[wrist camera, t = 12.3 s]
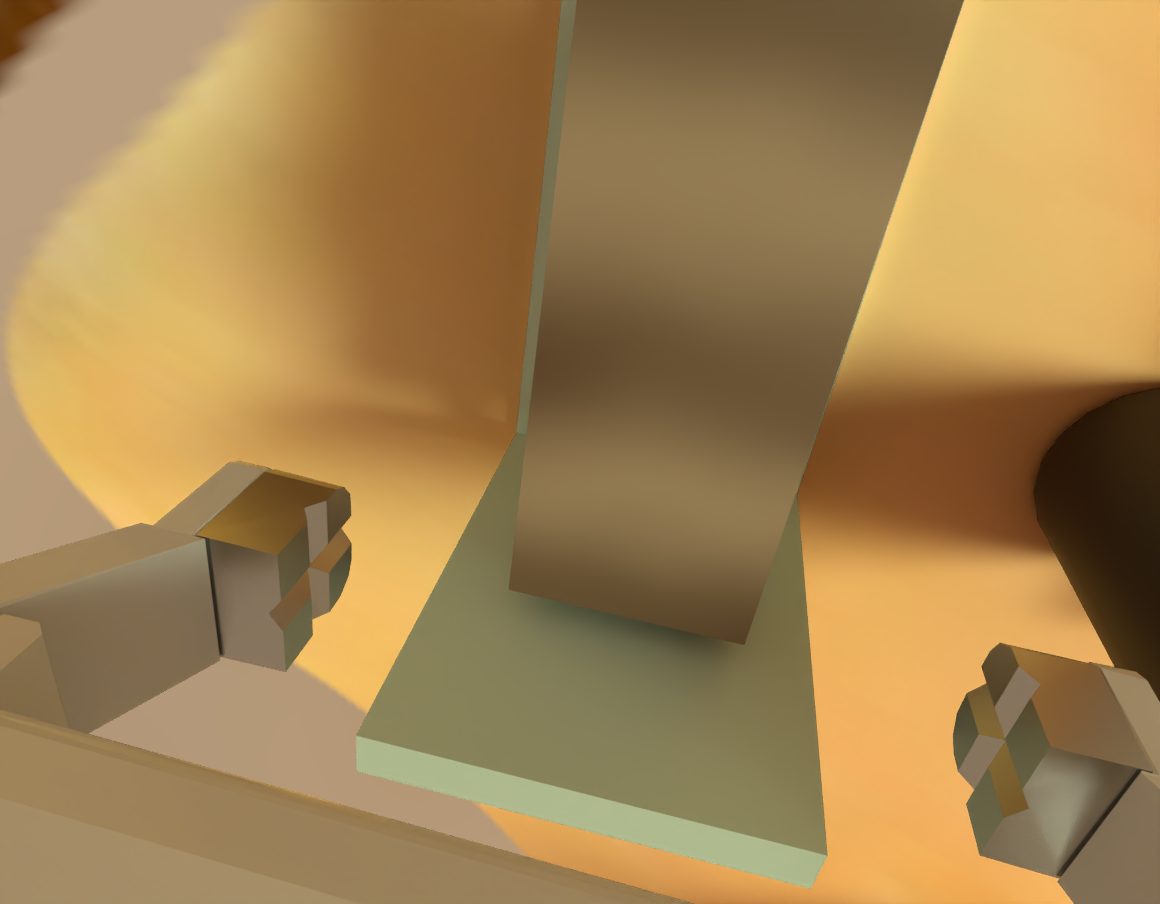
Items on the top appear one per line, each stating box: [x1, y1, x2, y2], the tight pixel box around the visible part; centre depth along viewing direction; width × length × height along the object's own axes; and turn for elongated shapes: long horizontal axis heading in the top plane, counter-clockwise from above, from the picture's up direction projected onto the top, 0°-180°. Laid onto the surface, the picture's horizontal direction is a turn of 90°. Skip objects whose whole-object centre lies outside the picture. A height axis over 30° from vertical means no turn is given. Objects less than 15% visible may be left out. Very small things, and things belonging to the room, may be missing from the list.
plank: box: [509, 0, 964, 645], centre depth 18 cm, size 14×6×4 cm, turn 172°
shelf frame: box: [356, 0, 964, 889], centre depth 18 cm, size 19×10×14 cm, turn 172°
